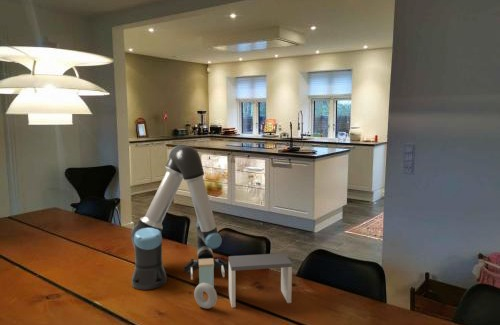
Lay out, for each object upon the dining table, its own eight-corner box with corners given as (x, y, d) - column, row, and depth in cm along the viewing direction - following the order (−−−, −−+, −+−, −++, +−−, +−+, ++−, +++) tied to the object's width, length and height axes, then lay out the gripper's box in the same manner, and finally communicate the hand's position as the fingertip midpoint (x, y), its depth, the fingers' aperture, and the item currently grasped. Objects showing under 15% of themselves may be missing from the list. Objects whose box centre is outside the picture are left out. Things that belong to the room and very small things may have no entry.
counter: (231, 307, 140) (231, 267, 138) (228, 294, 151) (228, 256, 149) (291, 302, 144) (292, 263, 142) (284, 289, 155) (284, 253, 153)
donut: (218, 308, 139) (218, 284, 138) (214, 313, 136) (213, 288, 135) (197, 302, 144) (197, 278, 143) (192, 306, 141) (192, 282, 140)
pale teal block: (199, 292, 152) (198, 265, 151) (198, 285, 158) (198, 259, 157) (214, 291, 153) (214, 264, 152) (213, 284, 160) (213, 258, 158)
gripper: (230, 262, 177) (236, 281, 157) (179, 265, 173) (178, 285, 152) (230, 247, 176) (236, 265, 156) (179, 250, 172) (178, 269, 151)
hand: (207, 275), depth 154 cm, fingers open, 13 cm apart
